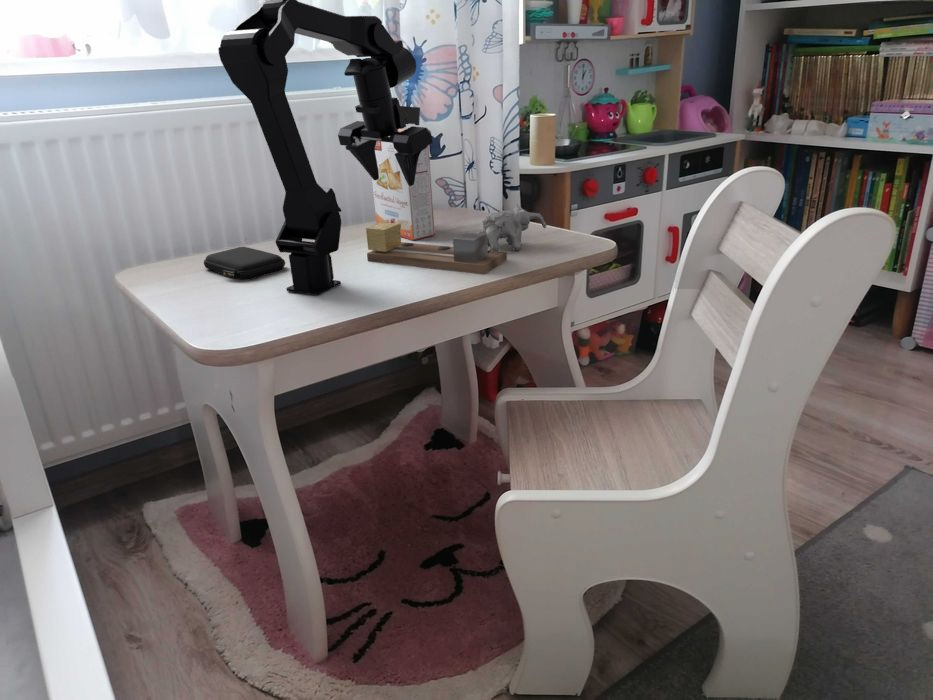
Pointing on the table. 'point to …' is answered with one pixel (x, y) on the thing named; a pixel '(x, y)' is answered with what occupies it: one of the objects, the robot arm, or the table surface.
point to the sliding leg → (383, 236)
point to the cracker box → (403, 193)
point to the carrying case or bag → (244, 263)
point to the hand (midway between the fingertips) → (393, 182)
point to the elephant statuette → (508, 226)
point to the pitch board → (445, 255)
